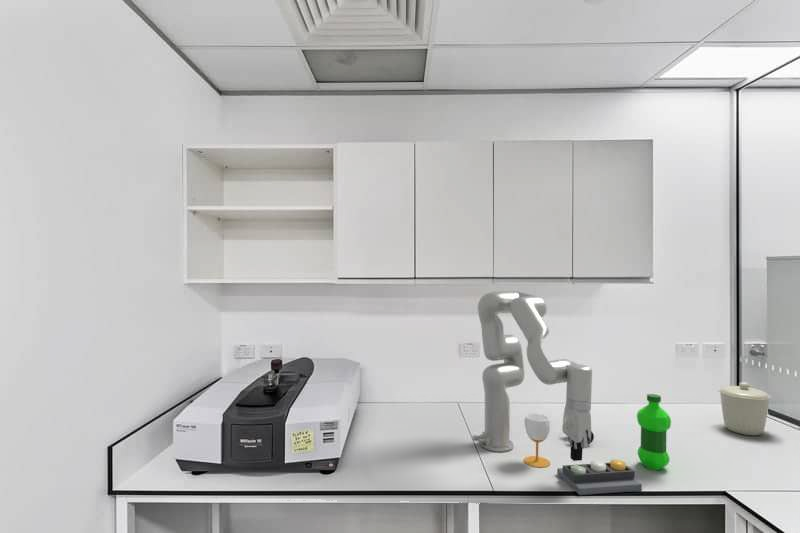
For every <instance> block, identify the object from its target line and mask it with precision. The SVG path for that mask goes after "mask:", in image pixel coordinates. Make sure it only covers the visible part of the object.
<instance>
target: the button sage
mask: <svg viewBox="0 0 800 533" xmlns="http://www.w3.org/2000/svg"><path fill="white" fill-rule="evenodd" d="M572 465H573V466H571V471H572V472H573V473H574V474H582V473H586V469H585V468H584V467H582V466H578V465H579V464H572Z"/></svg>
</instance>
